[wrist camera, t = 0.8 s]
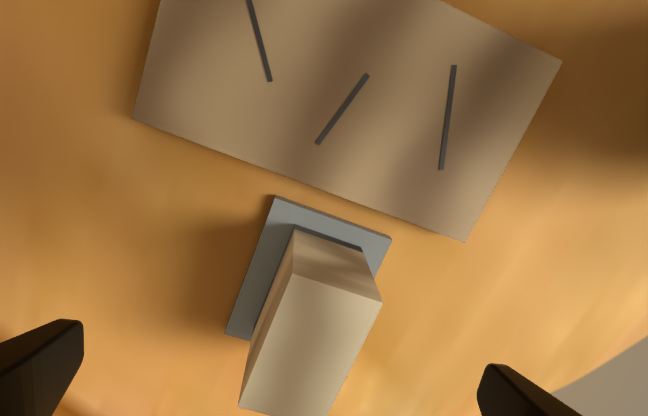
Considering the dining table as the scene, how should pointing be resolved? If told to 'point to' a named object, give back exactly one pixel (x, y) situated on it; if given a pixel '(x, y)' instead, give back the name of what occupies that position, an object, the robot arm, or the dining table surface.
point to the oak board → (350, 97)
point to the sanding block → (309, 326)
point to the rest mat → (273, 247)
